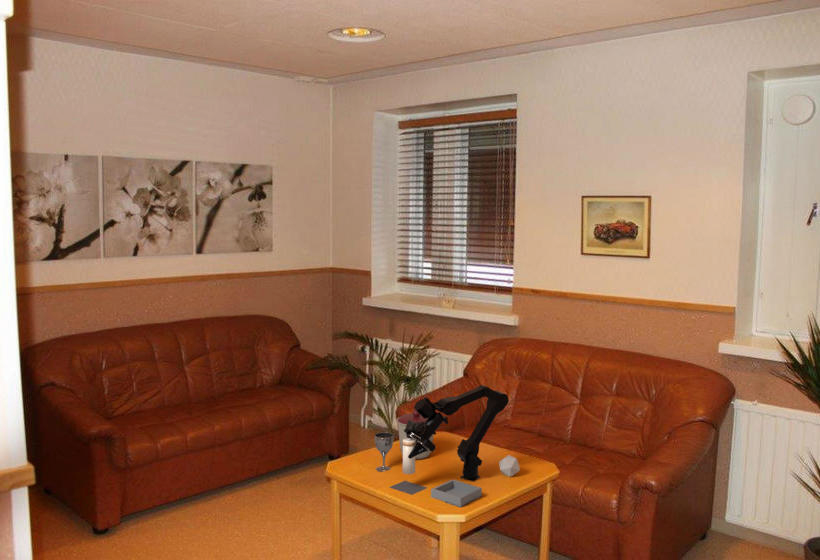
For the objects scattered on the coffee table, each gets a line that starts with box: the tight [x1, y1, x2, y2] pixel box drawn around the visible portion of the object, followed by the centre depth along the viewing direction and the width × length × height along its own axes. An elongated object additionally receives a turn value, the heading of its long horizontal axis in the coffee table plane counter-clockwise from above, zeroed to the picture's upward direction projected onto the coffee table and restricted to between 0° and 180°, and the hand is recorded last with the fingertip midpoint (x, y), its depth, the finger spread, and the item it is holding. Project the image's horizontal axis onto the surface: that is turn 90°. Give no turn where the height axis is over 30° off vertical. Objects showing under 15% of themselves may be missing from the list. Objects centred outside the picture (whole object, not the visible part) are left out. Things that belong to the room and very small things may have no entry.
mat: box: [388, 480, 428, 496], centre depth 292 cm, size 10×12×1 cm
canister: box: [395, 409, 435, 460], centre depth 331 cm, size 18×18×21 cm
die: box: [498, 454, 521, 477], centre depth 309 cm, size 8×9×10 cm
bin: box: [430, 479, 483, 508], centre depth 283 cm, size 14×14×4 cm
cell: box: [402, 438, 416, 475], centre depth 291 cm, size 5×5×14 cm
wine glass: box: [374, 431, 394, 473], centre depth 313 cm, size 8×8×15 cm
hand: (405, 455), depth 290 cm, fingers closed on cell, 5 cm apart
